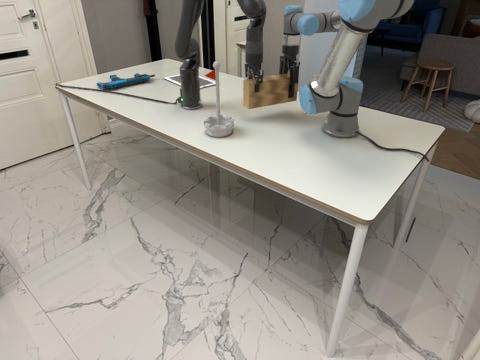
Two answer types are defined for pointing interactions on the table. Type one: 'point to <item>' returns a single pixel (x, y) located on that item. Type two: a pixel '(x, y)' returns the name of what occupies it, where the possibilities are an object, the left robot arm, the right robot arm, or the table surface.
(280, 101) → the box
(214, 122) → the flag stand
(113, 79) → the submachine gun
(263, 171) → the table surface
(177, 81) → the tablet
